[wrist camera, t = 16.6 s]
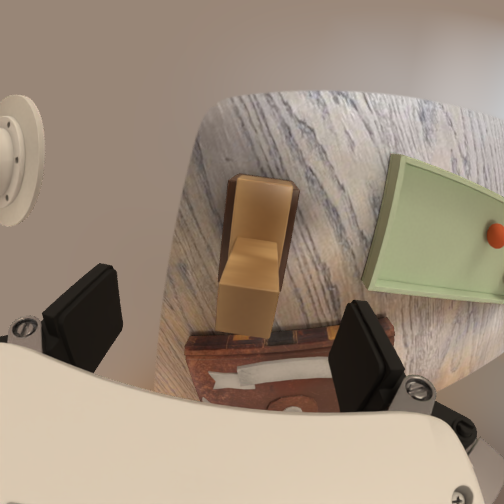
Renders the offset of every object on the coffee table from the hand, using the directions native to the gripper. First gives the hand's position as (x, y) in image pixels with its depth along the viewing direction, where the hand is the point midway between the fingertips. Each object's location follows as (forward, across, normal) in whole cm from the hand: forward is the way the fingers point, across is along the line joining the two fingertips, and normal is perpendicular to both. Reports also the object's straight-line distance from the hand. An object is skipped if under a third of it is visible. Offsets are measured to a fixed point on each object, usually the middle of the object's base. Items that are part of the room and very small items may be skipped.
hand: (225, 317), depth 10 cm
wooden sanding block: (+10, -1, 0) cm, 10 cm away
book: (+16, -8, +19) cm, 26 cm away
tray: (+16, -26, -2) cm, 30 cm away
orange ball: (+13, -29, -4) cm, 32 cm away
